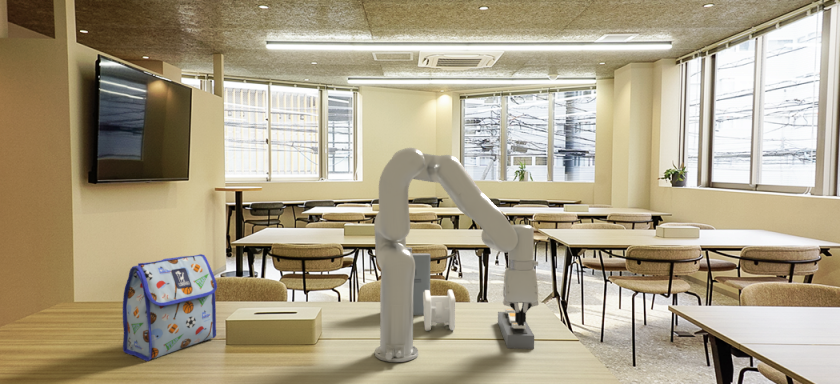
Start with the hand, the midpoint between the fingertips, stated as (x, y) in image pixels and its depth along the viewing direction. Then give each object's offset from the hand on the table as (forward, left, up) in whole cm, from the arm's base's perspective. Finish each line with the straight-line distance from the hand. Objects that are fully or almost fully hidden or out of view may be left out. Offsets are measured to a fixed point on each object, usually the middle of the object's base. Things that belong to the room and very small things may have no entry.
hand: (520, 324), depth 149 cm
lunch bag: (-8, +105, -7) cm, 106 cm away
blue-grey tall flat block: (+32, +37, -7) cm, 49 cm away
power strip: (+14, 0, -7) cm, 16 cm away
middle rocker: (+10, 0, -1) cm, 10 cm away
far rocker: (+18, 0, -1) cm, 18 cm away
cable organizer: (+17, +25, -7) cm, 31 cm away
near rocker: (+2, 0, -1) cm, 2 cm away
